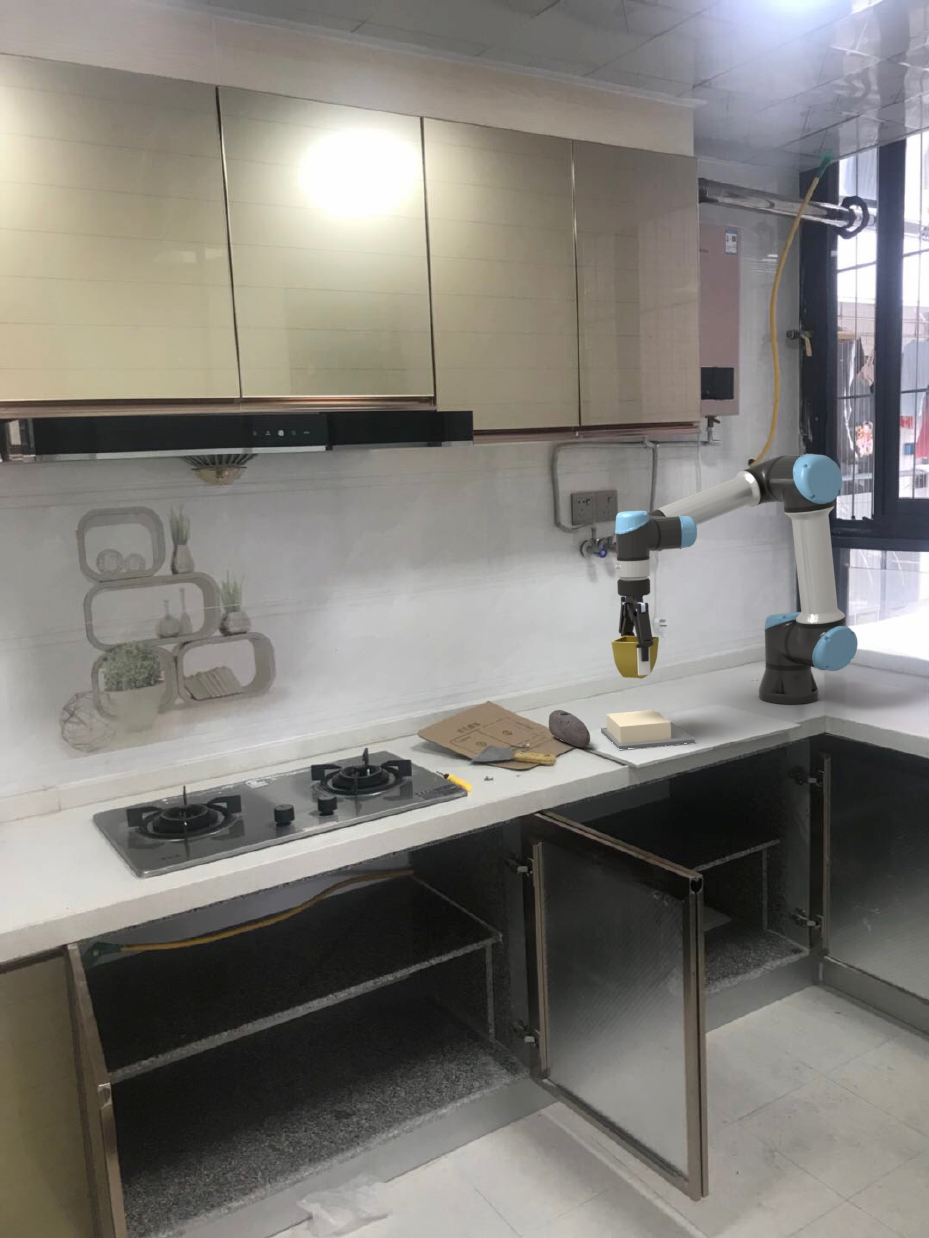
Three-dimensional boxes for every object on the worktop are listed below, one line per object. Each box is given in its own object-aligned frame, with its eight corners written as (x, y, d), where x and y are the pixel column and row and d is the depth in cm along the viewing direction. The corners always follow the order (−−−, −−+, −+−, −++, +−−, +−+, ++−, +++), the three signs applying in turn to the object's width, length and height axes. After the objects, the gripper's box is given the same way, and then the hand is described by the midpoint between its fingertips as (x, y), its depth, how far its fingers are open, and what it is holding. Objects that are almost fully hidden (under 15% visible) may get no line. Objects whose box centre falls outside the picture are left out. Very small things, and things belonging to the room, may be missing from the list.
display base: (671, 725, 236) (671, 705, 235) (694, 743, 220) (694, 722, 219) (601, 731, 234) (600, 712, 233) (619, 750, 218) (618, 729, 217)
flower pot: (625, 671, 230) (624, 634, 229) (660, 673, 226) (659, 636, 224) (611, 679, 223) (610, 641, 221) (647, 681, 218) (646, 643, 217)
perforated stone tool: (597, 749, 220) (596, 720, 219) (578, 753, 218) (576, 724, 217) (566, 734, 234) (564, 707, 233) (547, 738, 232) (545, 710, 231)
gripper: (604, 573, 232) (607, 660, 235) (633, 585, 209) (635, 681, 212) (634, 571, 233) (636, 658, 236) (666, 582, 209) (668, 678, 213)
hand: (636, 669), depth 224 cm, fingers closed on flower pot, 12 cm apart
